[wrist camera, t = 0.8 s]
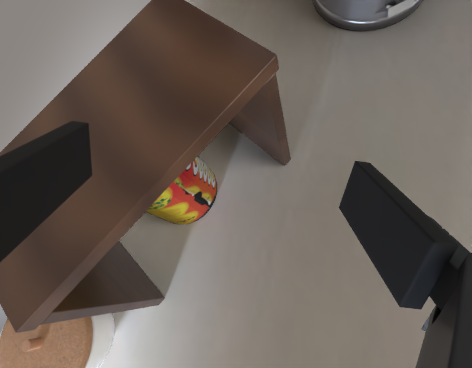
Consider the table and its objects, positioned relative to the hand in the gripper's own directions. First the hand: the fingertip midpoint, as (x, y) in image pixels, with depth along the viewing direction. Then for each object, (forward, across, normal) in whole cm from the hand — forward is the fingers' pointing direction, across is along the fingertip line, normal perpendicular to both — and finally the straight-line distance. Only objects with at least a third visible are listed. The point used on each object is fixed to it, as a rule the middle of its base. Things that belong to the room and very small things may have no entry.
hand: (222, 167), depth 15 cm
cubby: (+21, -3, -14) cm, 25 cm away
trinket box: (+12, -13, -29) cm, 34 cm away
